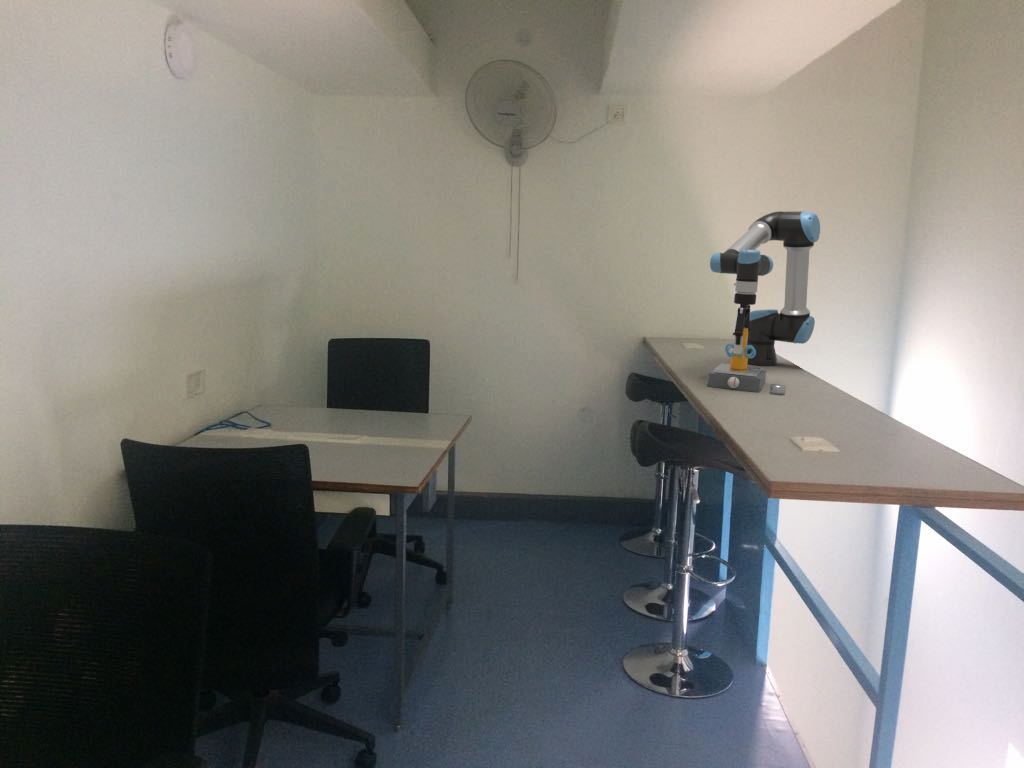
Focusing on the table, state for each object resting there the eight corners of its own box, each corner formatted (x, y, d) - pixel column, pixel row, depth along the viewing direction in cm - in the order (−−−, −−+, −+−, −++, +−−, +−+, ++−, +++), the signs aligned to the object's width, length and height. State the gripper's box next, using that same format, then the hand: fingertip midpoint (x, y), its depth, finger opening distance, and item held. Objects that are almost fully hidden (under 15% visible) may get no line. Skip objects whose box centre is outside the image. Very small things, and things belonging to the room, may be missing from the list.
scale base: (716, 378, 289) (717, 365, 288) (764, 383, 282) (766, 370, 281) (707, 386, 272) (708, 373, 271) (758, 392, 265) (760, 379, 264)
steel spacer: (770, 391, 268) (771, 383, 268) (785, 393, 266) (786, 385, 266) (769, 394, 264) (769, 385, 263) (784, 395, 262) (784, 387, 261)
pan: (719, 376, 287) (721, 363, 286) (760, 380, 281) (762, 367, 280) (712, 382, 274) (714, 369, 272) (755, 387, 267) (756, 374, 266)
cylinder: (755, 372, 269) (759, 331, 266) (725, 370, 271) (729, 329, 268) (751, 366, 281) (755, 326, 278) (722, 364, 283) (726, 325, 280)
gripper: (740, 290, 283) (734, 345, 287) (729, 294, 261) (723, 354, 265) (760, 291, 280) (755, 347, 284) (751, 296, 258) (745, 356, 262)
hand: (740, 351), depth 275 cm, fingers open, 13 cm apart
